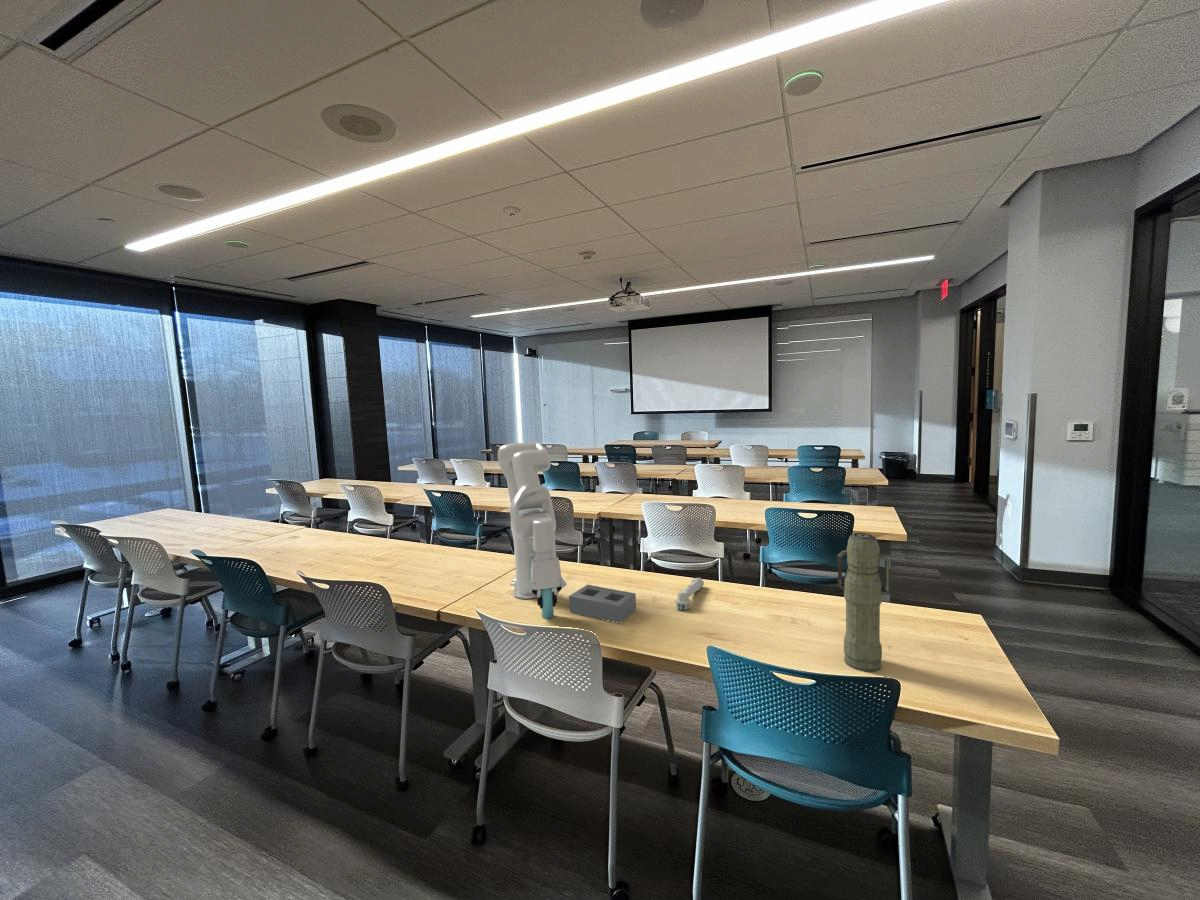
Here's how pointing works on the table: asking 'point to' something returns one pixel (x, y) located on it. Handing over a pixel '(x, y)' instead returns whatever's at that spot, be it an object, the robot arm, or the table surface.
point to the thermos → (863, 601)
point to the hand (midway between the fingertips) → (547, 605)
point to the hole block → (602, 603)
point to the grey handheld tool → (688, 594)
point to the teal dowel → (547, 603)
